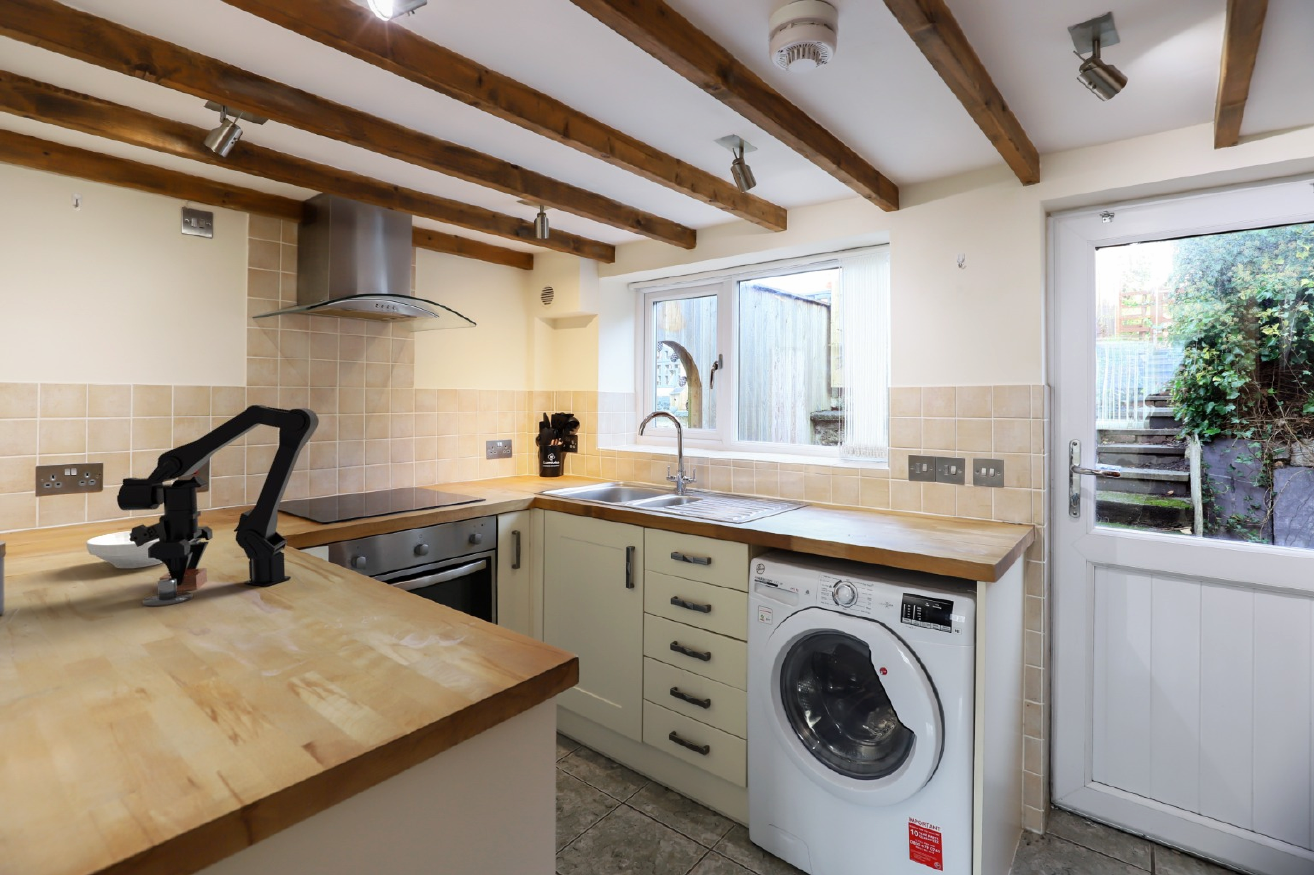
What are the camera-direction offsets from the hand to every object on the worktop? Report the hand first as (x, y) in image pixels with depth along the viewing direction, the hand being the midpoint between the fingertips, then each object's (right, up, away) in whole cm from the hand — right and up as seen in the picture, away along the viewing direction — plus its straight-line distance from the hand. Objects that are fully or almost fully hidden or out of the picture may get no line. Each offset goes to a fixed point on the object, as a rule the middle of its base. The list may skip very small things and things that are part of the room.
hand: (184, 581), depth 140 cm
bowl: (-24, 0, +18) cm, 30 cm away
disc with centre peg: (+3, -2, -9) cm, 10 cm away
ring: (0, -1, 0) cm, 1 cm away
